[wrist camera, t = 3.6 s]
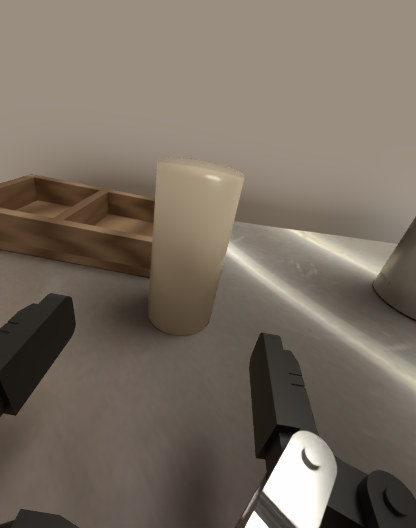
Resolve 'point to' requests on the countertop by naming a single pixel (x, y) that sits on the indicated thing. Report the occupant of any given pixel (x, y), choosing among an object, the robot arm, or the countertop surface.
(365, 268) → the countertop surface
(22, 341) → the robot arm
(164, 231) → the cream pillar candle
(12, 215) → the wooden divided tray
